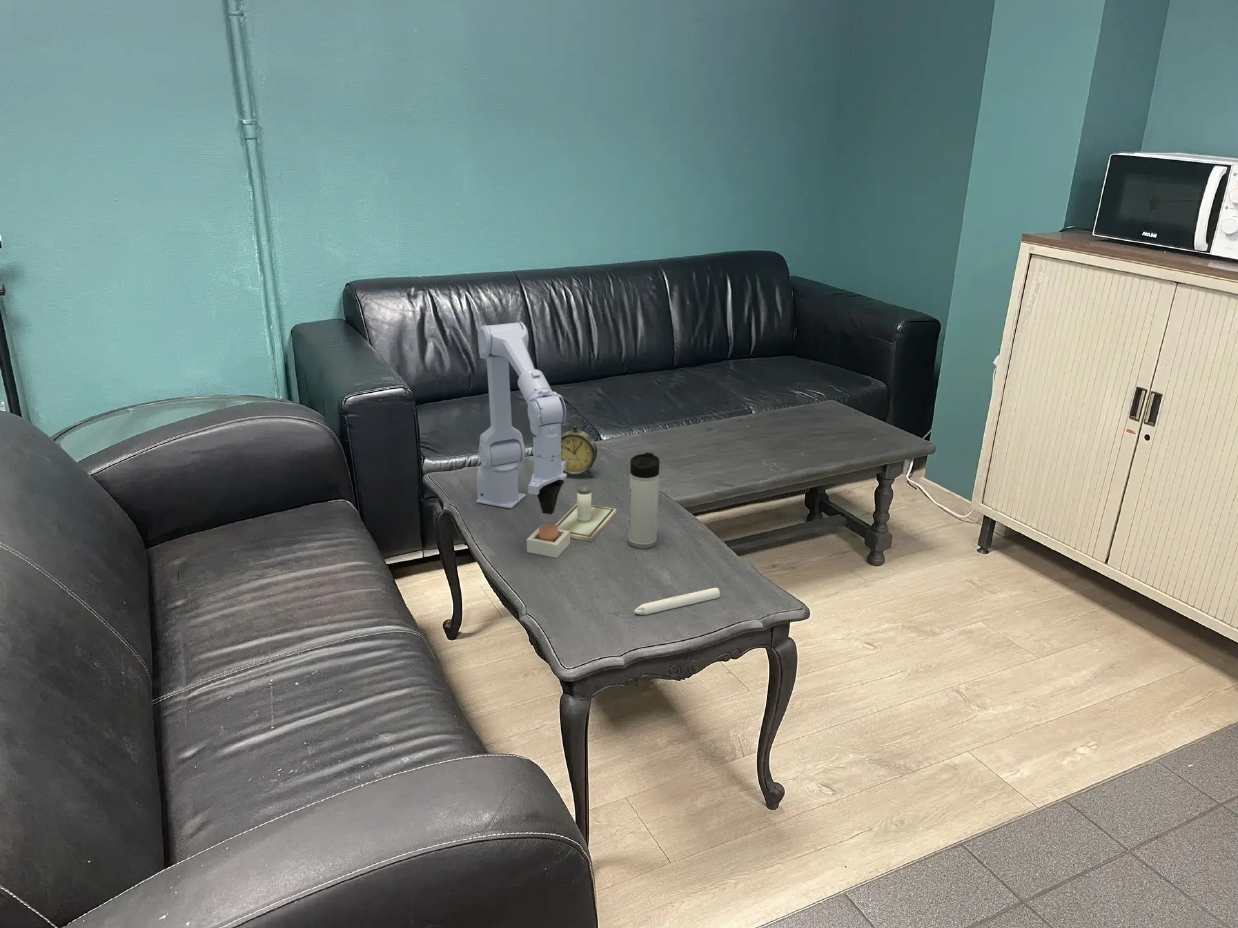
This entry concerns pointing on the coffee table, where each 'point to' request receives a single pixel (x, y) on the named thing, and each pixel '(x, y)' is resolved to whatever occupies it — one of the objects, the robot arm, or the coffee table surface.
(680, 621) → the coffee table surface
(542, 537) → the button
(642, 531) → the travel mug
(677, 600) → the marker
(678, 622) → the coffee table surface
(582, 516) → the cylinder
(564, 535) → the button housing
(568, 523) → the picture frame
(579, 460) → the alarm clock
